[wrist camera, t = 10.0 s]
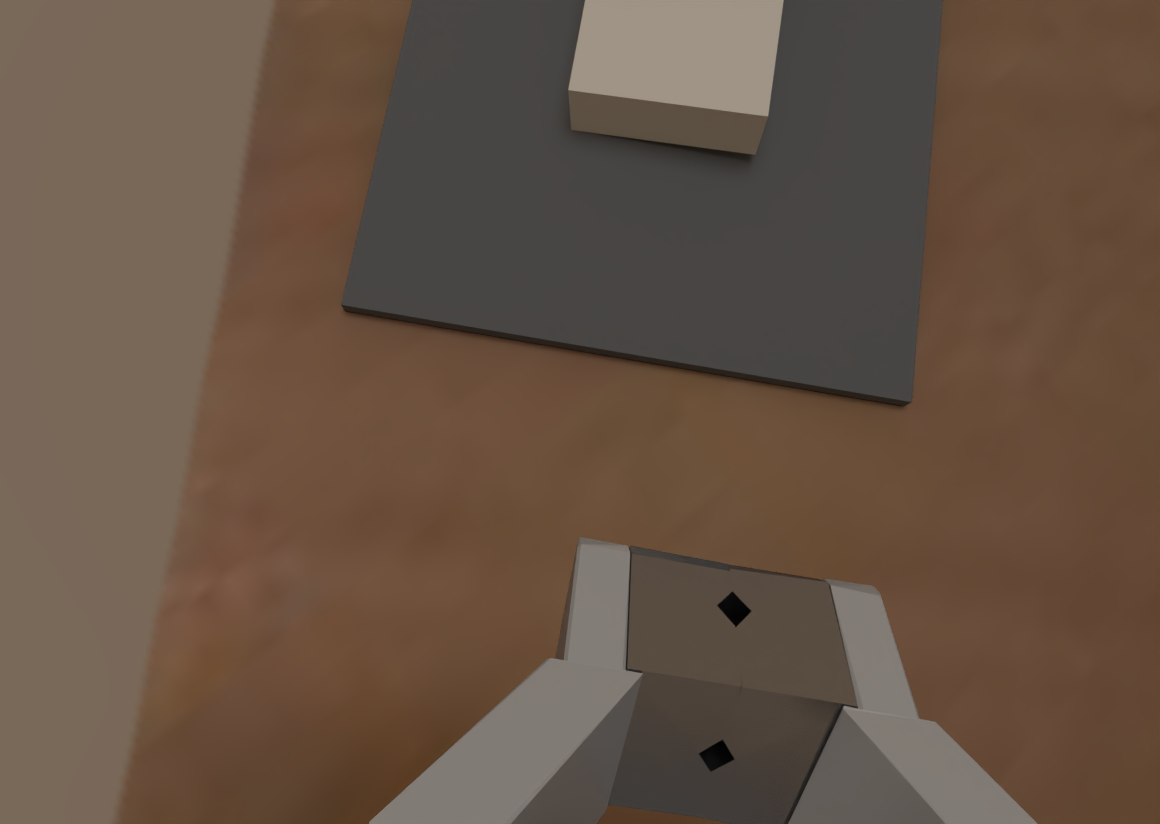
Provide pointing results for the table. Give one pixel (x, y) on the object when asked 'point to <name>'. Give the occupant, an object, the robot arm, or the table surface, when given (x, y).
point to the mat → (660, 201)
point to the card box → (676, 71)
